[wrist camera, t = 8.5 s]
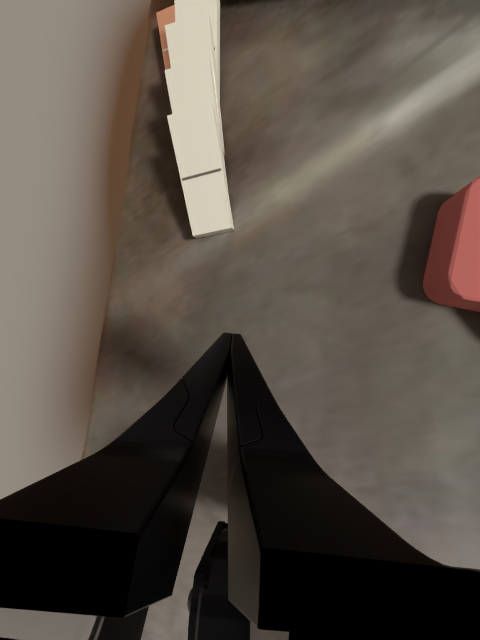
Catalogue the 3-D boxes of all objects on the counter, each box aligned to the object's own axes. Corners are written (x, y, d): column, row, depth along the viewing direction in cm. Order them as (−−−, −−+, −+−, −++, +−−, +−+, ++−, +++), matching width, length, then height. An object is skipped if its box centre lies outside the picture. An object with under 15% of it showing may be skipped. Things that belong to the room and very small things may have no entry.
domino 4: (216, 109, 22) (216, -21, 20) (178, 112, 23) (173, -15, 21) (219, 121, 24) (219, 2, 22) (183, 124, 25) (180, 7, 22)
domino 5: (203, 76, 23) (190, -4, 24) (168, 90, 24) (156, 12, 25) (208, 93, 25) (195, 18, 26) (174, 106, 26) (163, 32, 26)
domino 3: (222, 147, 22) (208, 11, 19) (183, 155, 23) (164, 24, 20) (224, 156, 24) (212, 31, 21) (188, 162, 24) (171, 43, 21)
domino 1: (232, 227, 21) (211, 100, 18) (192, 236, 22) (166, 115, 19) (234, 230, 23) (215, 114, 20) (197, 238, 24) (174, 127, 21)
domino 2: (226, 186, 22) (208, 55, 19) (187, 195, 22) (164, 69, 19) (228, 192, 23) (212, 72, 20) (192, 200, 24) (171, 85, 21)
